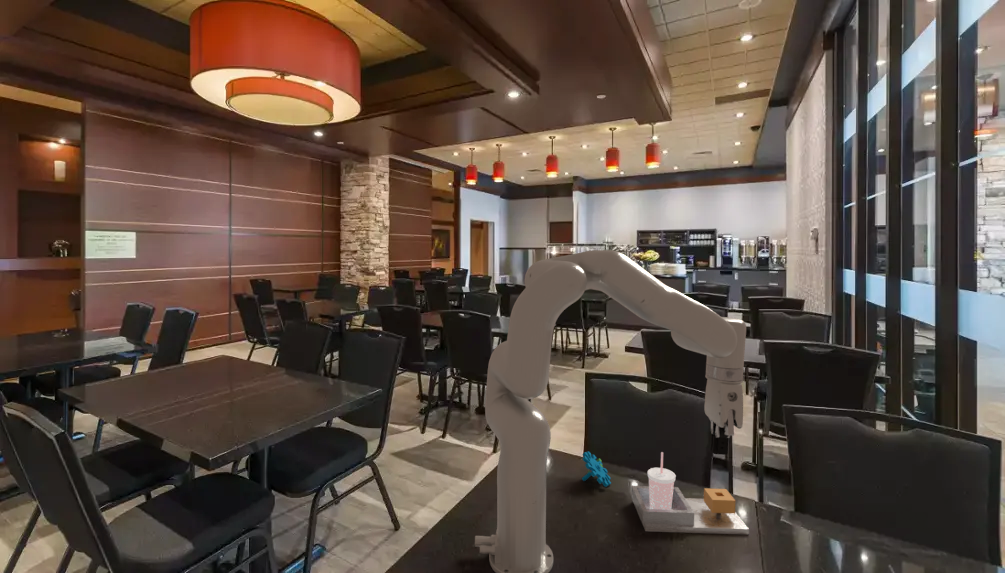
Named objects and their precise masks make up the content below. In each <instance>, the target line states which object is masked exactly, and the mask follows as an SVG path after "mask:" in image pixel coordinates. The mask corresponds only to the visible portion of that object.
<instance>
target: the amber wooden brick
mask: <svg viewBox="0 0 1005 573" xmlns="http://www.w3.org/2000/svg"><path fill="white" fill-rule="evenodd" d="M703 499H704V502H705V503H706V505H707V506H708V508H709V509H710V510H711V512H712V513H735V512H736V499H735V497H733V496H732V494H731V493H730V492H729V491H728V489H726V488H707V487H706V488H705V487H704V488H703Z"/></svg>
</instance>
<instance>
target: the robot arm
mask: <svg viewBox="0 0 1005 573" xmlns="http://www.w3.org/2000/svg"><path fill="white" fill-rule="evenodd" d="M524 285H525V286H524V287H525V288H524V289H523V291H521V293H520V294H519V296H518V297H517V298H516V301H515V302H514V304H513V306H512V309H511V311H510V312H511V313H510V317H509V321H508V330H507V331H508V332H507V335H506V336H507V337H506V338H507V339H506V340H504V341H503V342H501V343H499V344H498V345H497V346H496V347H495V348H494V350H493V351H492V353H491V355H490V358H489V361H488V365H487V366H488V368H487V376H486V378H487V379H486V389H485V403H484V404H485V406H484V412H485V413H484V414H485V419H486V422H487V425H488V427H489V428H490V429H491V431H492V432H493V433H494V435H495V436H496V438H497V439H498V441H499V444H500V446H499V447H500V451H499V456H498V462H497V468H496V469H497V470H496V471H497V473H496V476H497V477H496V485H497V486H496V487H497V489H496V491H497V496H496V499H497V501H496V502H497V503H496V504H497V506H496V508H497V510H496V511H497V512H496V513H497V516H496V517H497V518H496V520H497V521H496V522H497V523H496V524H497V525H496V528H497V529H496V530H495V531H496V532H495V534H490V536H488V535H487V536H485V535H475V536H474V547H479V554H484V555H485V554H488V555H489V566H490V567H491V568H492V571H494V573H550V572H551V570H552V569H553V565H554V554H553V550H552V549H551V548H550V546H549V545H548V544H547V543H546V536H547V535H546V534H547V533H546V532H547V531H546V529H547V527H546V526H547V525H546V524H547V522H546V521H547V467H548V465H547V464H548V455H549V450H550V446H551V438H552V437H551V435H552V433H551V427H550V424H549V422H548V420H547V418H546V416H545V415H544V413H543V412H542V411H541V410H540V409H539V408H538V407H537V406H536V405H534V403H532V402H531V401H529V400H530V399H536V398H538V397H539V396H541V395H542V394H543V393H544V392H545V390H546V388H547V386H548V384H549V379H550V368H551V357H552V356H551V355H552V354H551V353H552V344H553V342H552V341H553V334H554V329H555V325H556V322H557V321H558V318H559V317H560V315H561V314H562V313H563V312H564V310H566V309H567V308H568V307H570V306H571V305H572V304H574V303H576V302H577V301H579V300H580V298H582V296H583V295H584V293H585V291H588V290H594V291H599V292H602V293H604V294H606V295H607V296H609V297H610V298H611V299H612V300H614V301H616V302H617V303H618V304H619V305H622V307H624V308H625V309H627V310H628V311H629V312H631V313H633V314H634V315H636V316H637V317H638V318H640V319H642V320H644V321H645V322H648V323H650V324H653V325H654V326H657V327H661V328H664V329H667V330H670V335H671V338H672V340H673V342H674V343H675V344H676V345H677V346H679V347H680V348H682V349H685V350H688V351H691V352H694V353H697V354H701V355H704V356H706V362H705V378H706V379H707V380H706V386H705V393H704V407H703V408H704V413H705V415H706V416H707V417H708V419H709V421H710V432H711V434H710V435H711V436H710V452H712V454H713V455H728V452H729V451H728V450H729V440H730V437H731V436H735V428H737V429H742V428H743V426H744V392H743V390H744V389H743V384H742V383H743V381H744V365H745V351H746V338H747V336H746V335H747V324H746V323H745V322H746V321H744V320H742V319H739V318H736V317H730V316H729V317H726V316H720V314H718V313H717V312H715V311H713V310H712V309H711V308H710V307H708V306H706V305H704V304H702V303H700V302H699V301H697V300H694V299H693V298H691V297H689V296H687V295H685V294H684V293H682V292H680V291H678V290H676V289H675V288H672V287H670V286H668V285H666V284H665V283H663V282H662V281H661V280H660V279H658V278H656V277H655V276H654V275H652V274H651V273H649V271H648V270H646V269H645V268H643V267H642V266H640V265H639V264H638V263H637V262H635V261H634V260H632V259H631V258H630V257H629V256H627V255H626V254H624V253H622V252H619V251H617V250H612V249H594V250H593V249H592V250H586V251H581V252H577V253H572V254H566V255H561V256H556V257H550V258H545V259H541V260H538V261H535V262H534V263H533V264H531V265H530V266H529V268H528V269H527V270H526V273H525V275H524Z"/></svg>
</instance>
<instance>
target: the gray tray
mask: <svg viewBox="0 0 1005 573" xmlns="http://www.w3.org/2000/svg"><path fill="white" fill-rule="evenodd" d="M630 496H631V500H632V504H634V507H635V509H636V512H637V515H638V517H639V519H640V522H641V524H642V526H643V528H644V531H645V532H655V533H656V532H660V533H661V532H662V533H689V534H691V533H692V534H716V535H717V534H721V535H723V534H724V535H726V534H728V535H749V534H750V529H749V527H748V526H747V525H746V523H745V522H744V521H743V520H742V518H741V517H740V516H739V515H738V513H737V512H736V511H735V513H712V512H711V510H710V509H709V508H708V506H707V505H706V503H705V502H704V498H693V497H689V498H688V497H687V498H686V497H685V496H684V494H683V493H682V491H681V490H680V488H679V487H678V486H674V488H673V497H672V507H671V510H662V509H650V499H649V485H647V486H645V485H632V486H631V495H630Z"/></svg>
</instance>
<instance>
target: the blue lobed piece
mask: <svg viewBox="0 0 1005 573" xmlns="http://www.w3.org/2000/svg"><path fill="white" fill-rule="evenodd" d="M582 456H583V457H582V461H583V462H584V463H585V464H584V465H585V468H586V469H587V470H588V471H587V473H586V474H585V475H584V476H583V477H581V480H582V481H583V482H586V480H588V479H589V478H590V477H593V478H595V477H597V478H596V481H597V482H598V484H600V485H601V484H602V485H603V486H604V487H605V488H606V487H608V486H610V485H611V484H612V482H611V481H610V480H611V476H610V475H608V472H609V471H608V469H607V468H605V467H604V466H603V463H602V459H601V458H597V456H596V455H595V454H592V453H591V452H590V451H585V452H583V453H582Z"/></svg>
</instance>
